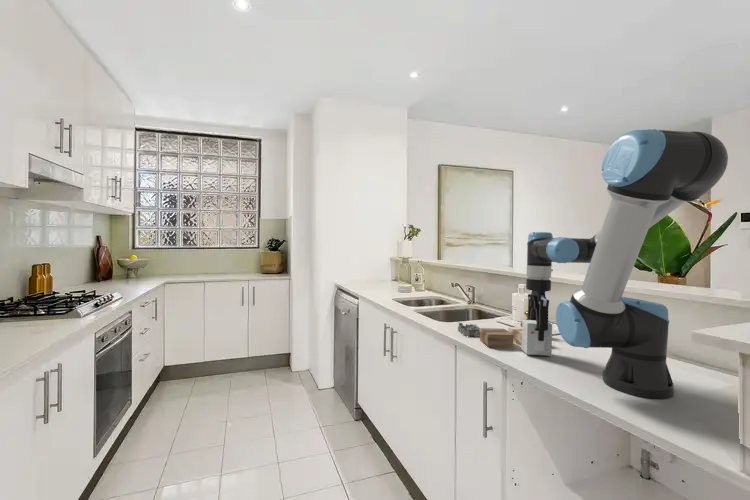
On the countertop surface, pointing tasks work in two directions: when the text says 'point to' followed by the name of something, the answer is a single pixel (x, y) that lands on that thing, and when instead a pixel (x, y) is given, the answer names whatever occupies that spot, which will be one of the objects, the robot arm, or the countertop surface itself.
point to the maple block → (516, 334)
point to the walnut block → (496, 338)
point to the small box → (529, 338)
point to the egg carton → (469, 330)
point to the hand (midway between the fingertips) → (536, 347)
